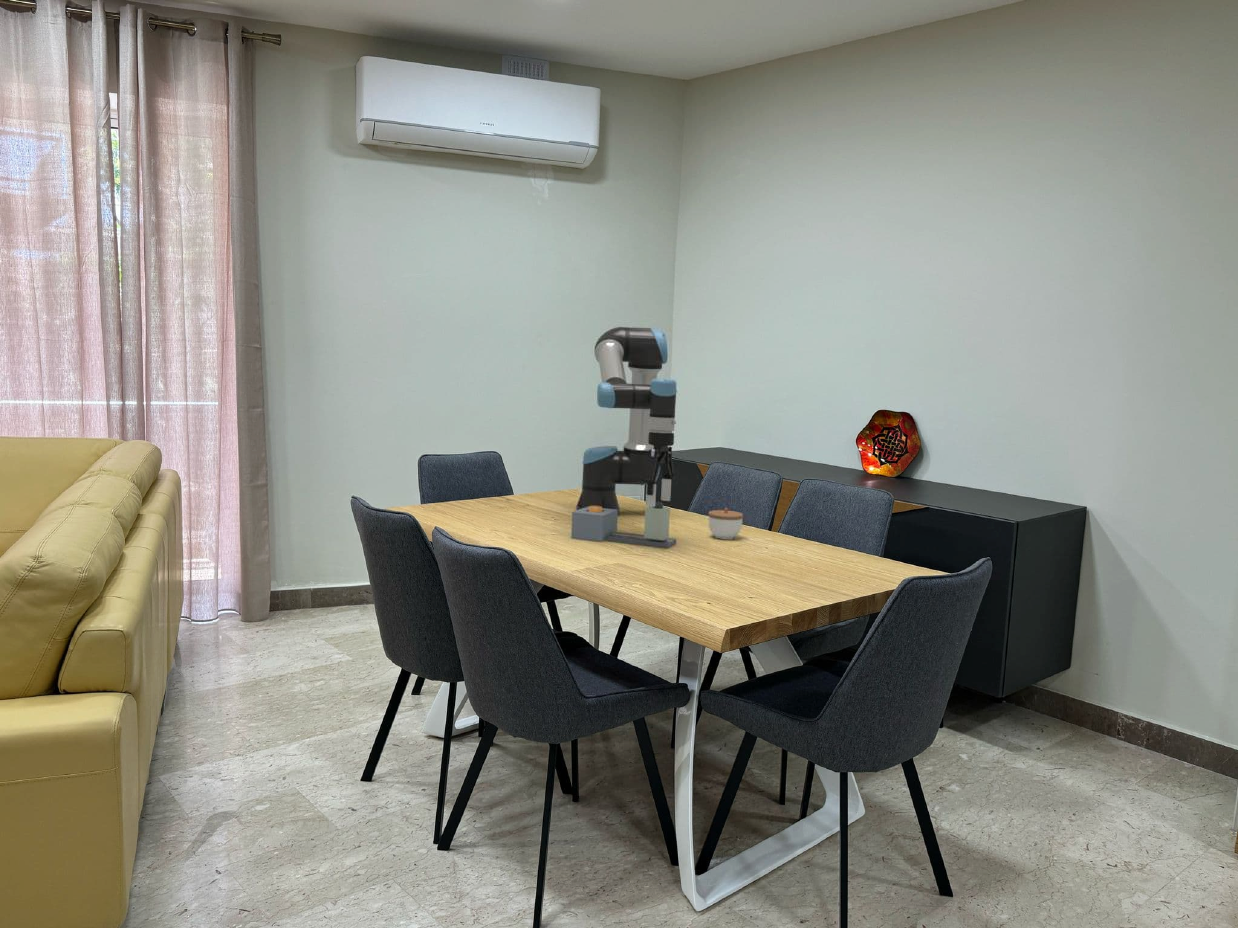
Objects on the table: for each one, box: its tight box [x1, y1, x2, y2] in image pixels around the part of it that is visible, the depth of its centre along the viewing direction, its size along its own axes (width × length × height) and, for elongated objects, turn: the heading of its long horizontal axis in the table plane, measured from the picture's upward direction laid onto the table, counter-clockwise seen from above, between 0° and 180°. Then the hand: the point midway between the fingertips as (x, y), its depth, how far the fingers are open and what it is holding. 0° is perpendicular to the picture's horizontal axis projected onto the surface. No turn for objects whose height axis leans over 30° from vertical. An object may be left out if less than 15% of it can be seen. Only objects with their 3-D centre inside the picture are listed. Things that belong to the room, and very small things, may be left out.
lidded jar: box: [708, 507, 744, 540], centre depth 294 cm, size 11×11×9 cm
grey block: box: [570, 506, 619, 543], centre depth 286 cm, size 10×12×8 cm
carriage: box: [643, 501, 671, 540], centre depth 279 cm, size 6×5×10 cm
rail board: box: [607, 531, 677, 550], centre depth 281 cm, size 19×8×2 cm, turn 68°
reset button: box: [589, 506, 602, 513], centre depth 286 cm, size 4×4×6 cm
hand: (658, 503), depth 278 cm, fingers open, 13 cm apart
